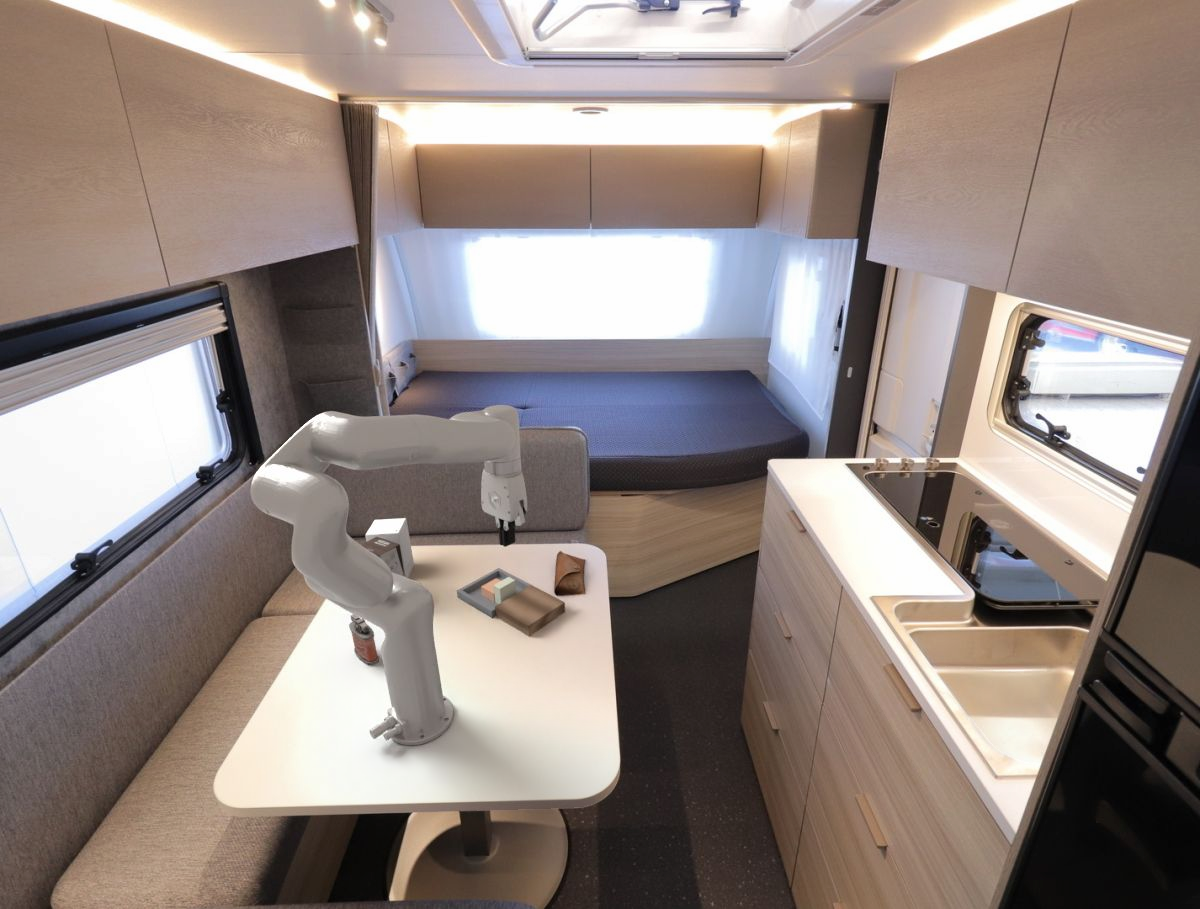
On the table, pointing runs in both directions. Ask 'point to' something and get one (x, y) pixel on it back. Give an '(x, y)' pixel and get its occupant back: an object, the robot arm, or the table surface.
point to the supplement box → (394, 538)
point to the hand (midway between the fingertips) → (507, 543)
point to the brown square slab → (530, 610)
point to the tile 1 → (489, 589)
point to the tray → (480, 602)
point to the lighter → (363, 641)
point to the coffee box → (387, 553)
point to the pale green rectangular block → (504, 589)
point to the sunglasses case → (569, 575)
